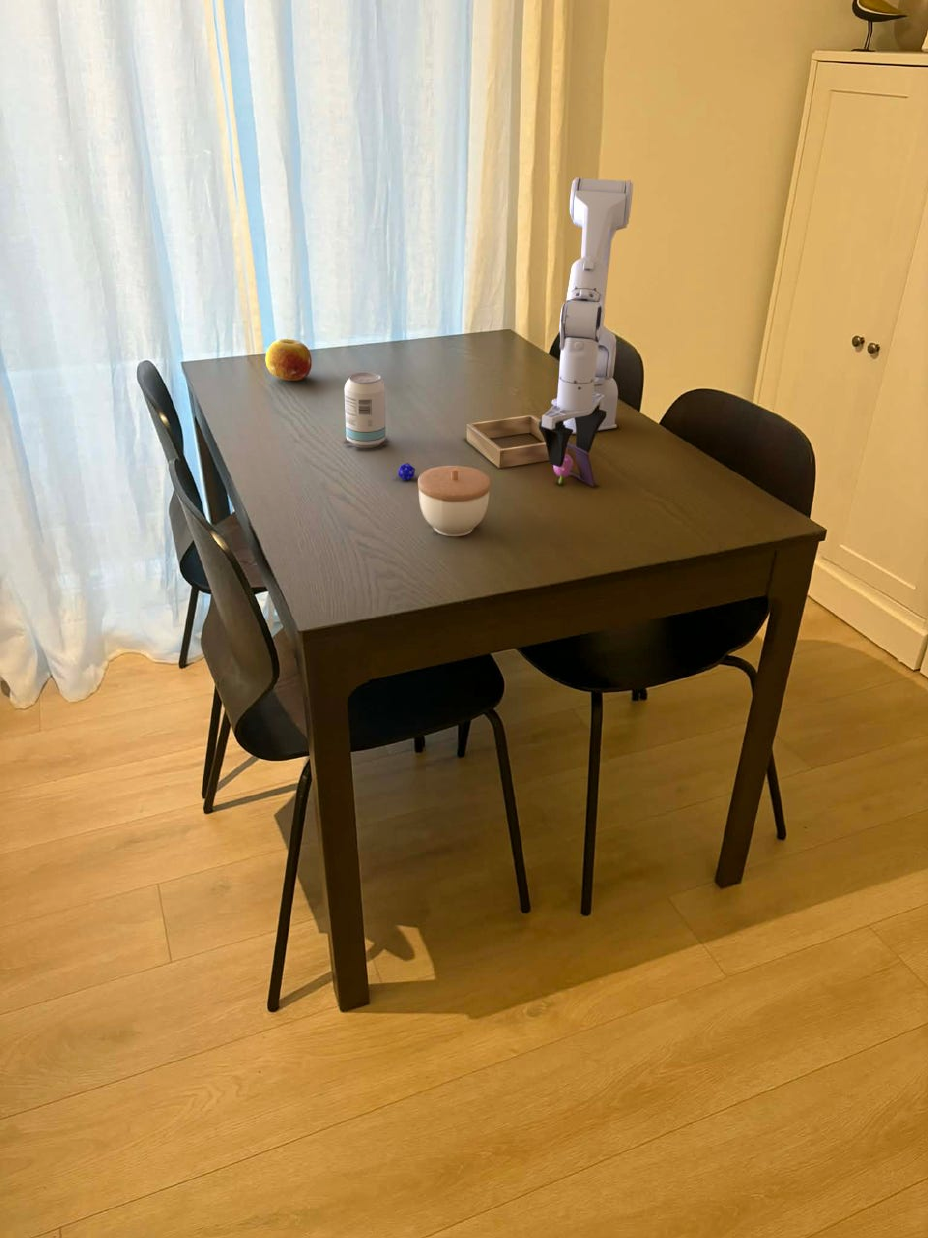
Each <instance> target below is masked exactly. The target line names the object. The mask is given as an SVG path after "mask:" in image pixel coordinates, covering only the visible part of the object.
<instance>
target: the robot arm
mask: <svg viewBox="0 0 928 1238" xmlns="http://www.w3.org/2000/svg"><path fill="white" fill-rule="evenodd" d="M633 194H634V183H633V182H632V180H631V179H627V180H621V179H602V178H599V179H598V178H587V177H586V178H584V177H580V176H576V177H575V179H573V180H572V183H571V190H570V197H569V198H570V199H569V215H570V217H571V221H572V222H573V225H574V226H576V227H579V228H581V229H582V230H581V250H580V258H579V259H577V260H575V262H574V263H573V264H572V266H571V269H570V275H569V281H568V288H567V293H566V302H563V303H562V306H561V310H560V315H559V341H560V342H559V350H560V355H559V367H558V368H559V372H558V383H557V395H556V398H553V399H552V400H551V405H552V406H551V407H550V409H549V410H548V411H547V412H545V413H544V414H542V417H541V421H540V422H539V429H540V431H541V433H542V435H543V437H544V440H545V443H546V446H547V450H548V456H549V460H548V461H549V465H551V466H553V465H554V466H557V467H561V466H562V465H563V462H564V458H565V452H566V447H567V443H568V441H569V442H570V439H571V436H572V434H575V446H577V447H578V448H580V449H582V450H584V451H586V452H588V453H590V452H591V449H592V446H593V443H594V440H595V437H596V435H597V433H598V431H605V430H611V429H616V428H617V427H618V426H617V424H616V416H617V415H616V414H617V407H618V398H619V390H618V384H617V382H616V381H615V379H614V378H613V377H614V372H615V362H616V355H617V338H616V335H615V334H614V333H613V332H612V331H611V330H610V329H608V328H607V327H606V326H605V315H606V300H607V299H606V298H607V289H608V279H609V278H608V277H609V268H610V259H611V250H612V241H613V238H614V236H615V234H616V232H617V231H620V230H624V229H627V227H628V225H629V223H630V217H631V212H632V203H633Z"/></svg>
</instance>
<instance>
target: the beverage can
mask: <svg viewBox="0 0 928 1238" xmlns="http://www.w3.org/2000/svg"><path fill="white" fill-rule="evenodd" d="M347 378H348V380H347V382H346V383H345V385H344V404H345V405H344V406H345V430H346V431H345V432H346V433H345V434H346V440H347V441H348V442H349V443H351V444H352V445H353V446H355V447H357V448H360V449H372V448H376V447H377V446H379V445H380V444H381V443H382V442H384V441H385V440H386V389H385V387H386V386H385V384H384V383H383V381H382V378H381V376H380V374H378V373H374V372H368V371H362V372H360V371H359V372H354V373H351V374H349V375H348V377H347Z"/></svg>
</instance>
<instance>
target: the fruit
mask: <svg viewBox="0 0 928 1238" xmlns="http://www.w3.org/2000/svg"><path fill="white" fill-rule="evenodd" d="M264 360H265V365H266V369H267V370H268V371H269V373H270V374H271V375H272V376H273V377H274V378H277V379H280V380H283V381H289V382H298V381H301V380H303V379H305V378H307V377H308V375H310V373H311V371H312V367H313V365H312V361H313V360H312V354H311V352H310V350H309V348H308V347H307V346H306V345H305V343H302V342H300V341H298V340H295V339H289V338H282V339H277V340H274V341H273V342H272V343H271V344H270V345H269V346H268V347H267V350H266V353H265V359H264Z"/></svg>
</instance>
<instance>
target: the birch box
mask: <svg viewBox="0 0 928 1238" xmlns="http://www.w3.org/2000/svg"><path fill="white" fill-rule="evenodd" d="M540 421H542V419H540V418H538V417H537V416H536V415H535V414H528V415H527V414H526V415H521V416H513V417H507V418H501V419H499V418H498V419H492V420H486V421H478V422H477V421H476V422H470V423H467V424H466V442H468V443H469V444H470V445H471V446H472V447H473V448H474V449H476V450H477V451H478V452H479V453H481V454H482V455H483V456H484V457H485V458H486V459H488V460H489V461H490V462H491V463H492V464H494V465H495V466H496V467H497V469H503V468H510V467H516V466H521V465H528V464H535V463H540V462H546V461H549V456H548V450H547V446H546V443H545V440H544V437H543V435H542V433H541V431H540V429H539V422H540ZM524 434H532V435H533V436H534V437H535V438H537V439H538V440H539V441H540V442H538V443H532V444H525V445H519V446H518V445H517V446H513V447H511V446H510V447H506V448H502V447H500V446H499V445H498V444H496V443H495V442H494V441H493V440H492V439H496V438H497V439H498V438H505V437H510V436H517V435H524ZM568 442H569V443H570V440H569V441H568ZM565 453H567V454H568V455H569V448H568V446H567V448H566V452H565Z"/></svg>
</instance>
